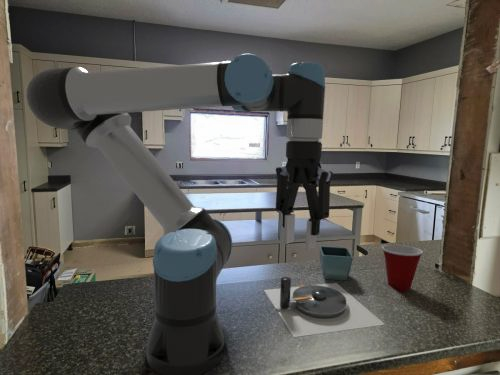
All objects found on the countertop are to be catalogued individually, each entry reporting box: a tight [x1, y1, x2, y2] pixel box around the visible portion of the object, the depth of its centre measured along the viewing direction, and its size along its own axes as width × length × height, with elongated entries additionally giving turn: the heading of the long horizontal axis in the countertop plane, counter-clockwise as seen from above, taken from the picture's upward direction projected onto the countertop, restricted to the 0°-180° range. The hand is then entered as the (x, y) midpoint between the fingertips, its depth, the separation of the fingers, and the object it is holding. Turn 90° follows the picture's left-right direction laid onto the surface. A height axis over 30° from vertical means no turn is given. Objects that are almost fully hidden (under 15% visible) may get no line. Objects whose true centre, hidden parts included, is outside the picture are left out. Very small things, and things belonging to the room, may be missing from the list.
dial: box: [280, 276, 346, 319], centre depth 80 cm, size 17×13×8 cm
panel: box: [263, 282, 385, 338], centre depth 81 cm, size 22×22×2 cm
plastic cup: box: [381, 244, 424, 293], centre depth 94 cm, size 11×11×12 cm
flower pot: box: [319, 245, 354, 281], centre depth 99 cm, size 9×9×9 cm
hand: (299, 245), depth 72 cm, fingers open, 5 cm apart
